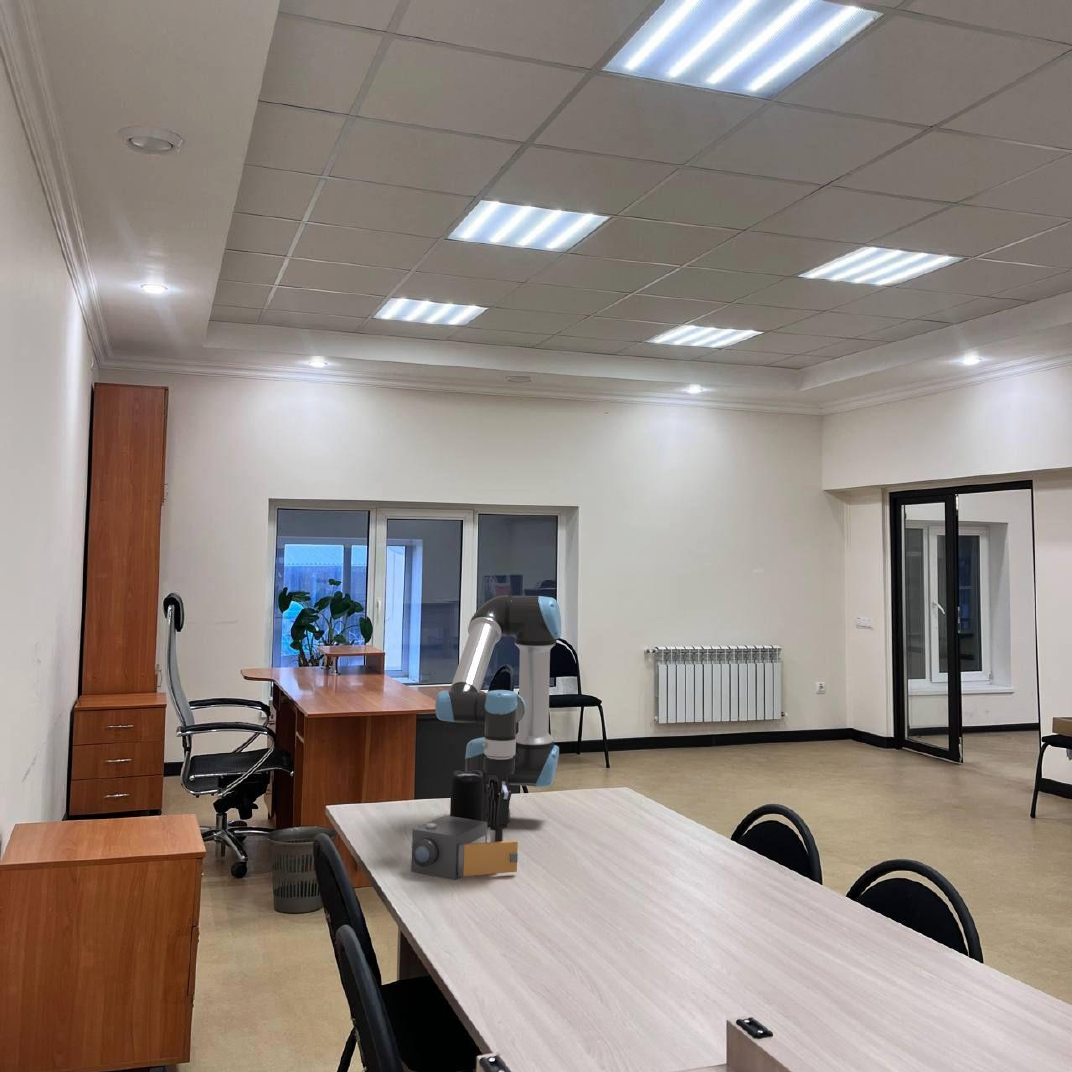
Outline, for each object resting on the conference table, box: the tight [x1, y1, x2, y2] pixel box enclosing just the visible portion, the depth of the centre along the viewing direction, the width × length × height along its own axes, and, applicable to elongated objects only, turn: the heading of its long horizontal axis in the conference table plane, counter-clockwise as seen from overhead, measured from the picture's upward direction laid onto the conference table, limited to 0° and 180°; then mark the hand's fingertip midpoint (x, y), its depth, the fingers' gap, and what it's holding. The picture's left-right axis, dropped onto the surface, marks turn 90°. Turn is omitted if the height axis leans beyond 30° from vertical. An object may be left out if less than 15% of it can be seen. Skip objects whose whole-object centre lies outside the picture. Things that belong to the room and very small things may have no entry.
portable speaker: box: [449, 770, 484, 821], centre depth 249 cm, size 9×9×20 cm
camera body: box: [410, 814, 488, 881], centre depth 232 cm, size 18×12×11 cm
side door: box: [458, 840, 519, 877], centre depth 226 cm, size 14×2×7 cm, turn 109°
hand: (496, 855), depth 230 cm, fingers closed
